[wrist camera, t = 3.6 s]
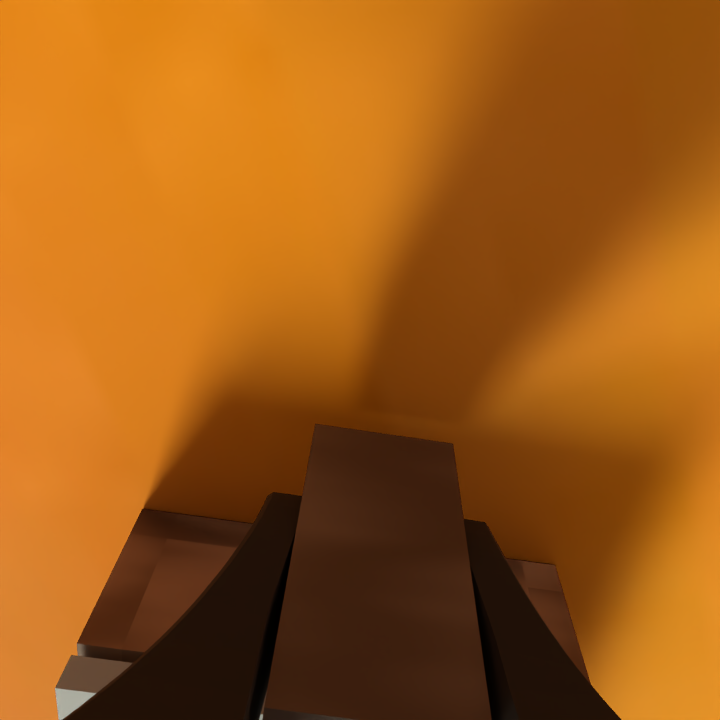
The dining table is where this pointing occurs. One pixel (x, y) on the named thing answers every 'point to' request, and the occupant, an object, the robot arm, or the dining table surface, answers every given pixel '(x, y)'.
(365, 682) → the block
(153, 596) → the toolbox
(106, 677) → the lid
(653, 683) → the dining table surface
